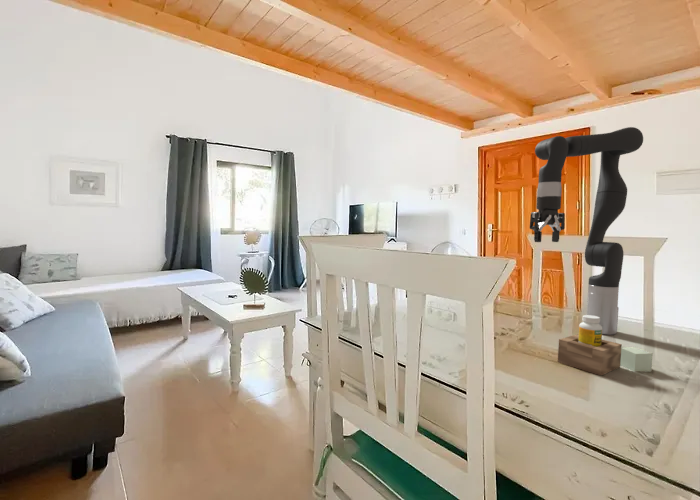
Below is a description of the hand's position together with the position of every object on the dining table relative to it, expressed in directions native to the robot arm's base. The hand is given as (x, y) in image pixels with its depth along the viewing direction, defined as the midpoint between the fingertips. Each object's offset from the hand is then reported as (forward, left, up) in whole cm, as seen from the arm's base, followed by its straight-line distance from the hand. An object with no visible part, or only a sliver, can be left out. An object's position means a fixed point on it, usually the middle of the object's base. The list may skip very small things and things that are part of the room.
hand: (546, 242), depth 128 cm
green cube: (+3, +32, -33) cm, 46 cm away
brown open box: (+13, +26, -33) cm, 44 cm away
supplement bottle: (+13, +26, -29) cm, 41 cm away
